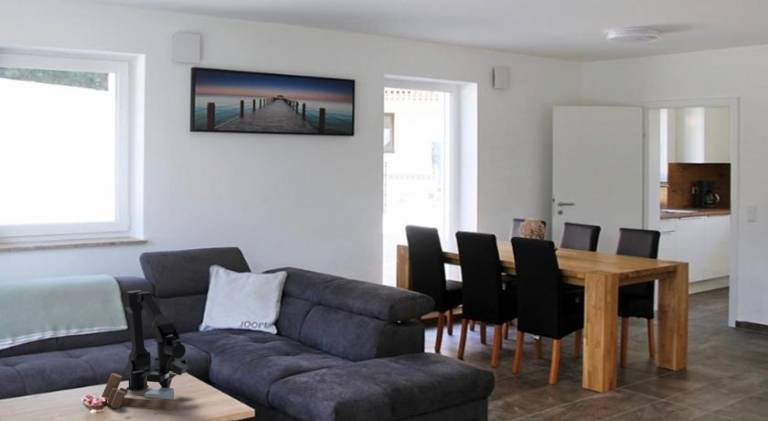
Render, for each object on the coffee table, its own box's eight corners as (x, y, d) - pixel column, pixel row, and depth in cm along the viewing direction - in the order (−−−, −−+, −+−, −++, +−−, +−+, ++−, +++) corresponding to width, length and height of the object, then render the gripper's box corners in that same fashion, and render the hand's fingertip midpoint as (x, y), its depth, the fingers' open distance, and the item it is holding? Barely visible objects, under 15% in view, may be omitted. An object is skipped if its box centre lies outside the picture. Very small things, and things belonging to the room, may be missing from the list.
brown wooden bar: (120, 405, 299) (120, 397, 299) (125, 402, 302) (125, 395, 302) (172, 410, 293) (172, 402, 292) (176, 407, 295) (176, 399, 295)
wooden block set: (121, 415, 295) (132, 389, 295) (98, 407, 292) (110, 381, 293) (123, 399, 312) (133, 375, 312) (101, 392, 309) (112, 368, 310)
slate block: (144, 404, 299) (144, 393, 299) (158, 398, 308) (158, 387, 308) (161, 406, 297) (160, 394, 297) (174, 400, 306) (173, 388, 306)
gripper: (170, 361, 296) (172, 402, 297) (195, 349, 314) (197, 388, 315) (144, 359, 299) (145, 400, 301) (170, 347, 317) (172, 386, 318)
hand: (166, 393), depth 309 cm, fingers closed
